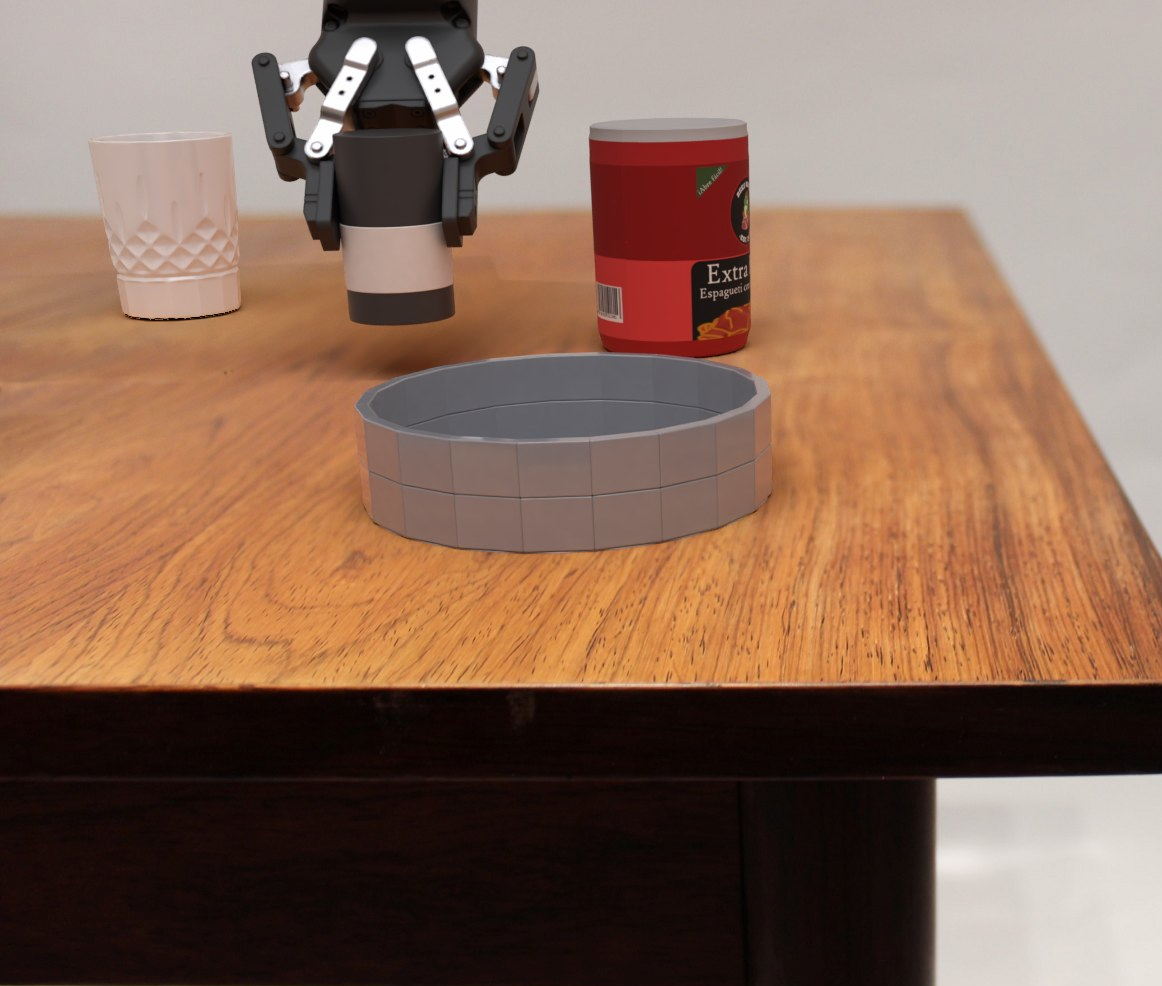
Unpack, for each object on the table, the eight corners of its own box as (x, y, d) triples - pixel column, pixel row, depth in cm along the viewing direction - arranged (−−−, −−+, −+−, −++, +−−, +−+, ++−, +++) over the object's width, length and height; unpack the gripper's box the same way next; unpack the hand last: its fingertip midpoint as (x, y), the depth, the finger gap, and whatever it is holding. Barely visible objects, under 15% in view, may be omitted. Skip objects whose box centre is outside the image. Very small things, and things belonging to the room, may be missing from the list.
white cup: (244, 318, 96) (223, 138, 93) (101, 325, 95) (75, 143, 92) (257, 297, 103) (238, 129, 100) (125, 303, 102) (101, 133, 99)
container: (340, 327, 78) (321, 137, 75) (358, 308, 82) (341, 129, 80) (450, 324, 78) (436, 135, 75) (461, 305, 83) (448, 127, 80)
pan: (333, 574, 52) (320, 448, 50) (398, 459, 65) (389, 357, 64) (784, 560, 52) (783, 435, 51) (758, 449, 65) (757, 347, 64)
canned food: (724, 363, 81) (719, 128, 78) (573, 356, 84) (561, 128, 80) (771, 334, 88) (768, 117, 84) (630, 328, 91) (621, 117, 87)
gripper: (552, 17, 88) (551, 283, 81) (276, 23, 87) (251, 291, 80) (540, -99, 81) (538, 182, 74) (241, -93, 81) (210, 190, 73)
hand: (389, 237), depth 77 cm, fingers closed on container, 5 cm apart
